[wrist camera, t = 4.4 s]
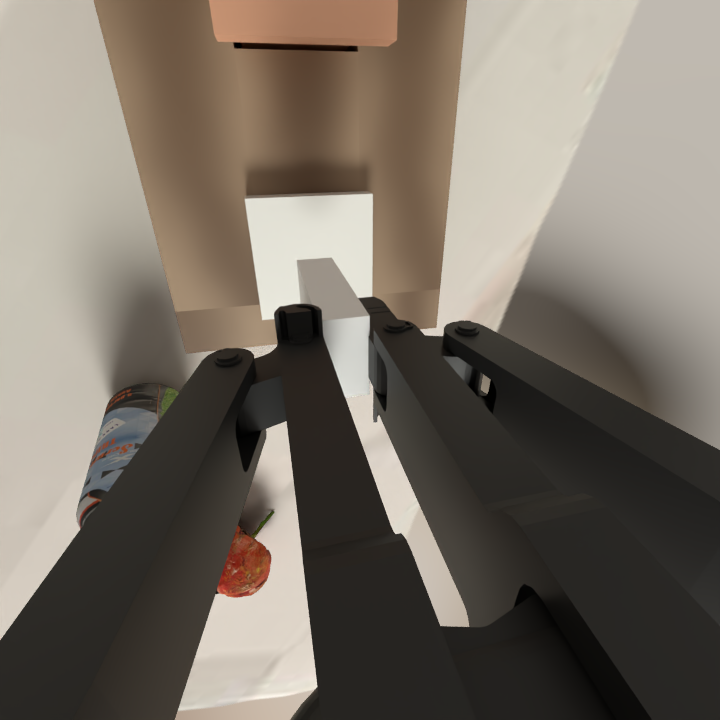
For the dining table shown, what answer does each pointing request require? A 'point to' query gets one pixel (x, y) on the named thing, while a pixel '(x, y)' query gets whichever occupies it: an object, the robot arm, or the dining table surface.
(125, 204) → the dining table surface
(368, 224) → the white block
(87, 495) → the beverage can
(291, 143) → the brown boxy piece
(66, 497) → the dining table surface
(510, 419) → the robot arm
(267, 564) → the red round fruit
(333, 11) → the terracotta key
